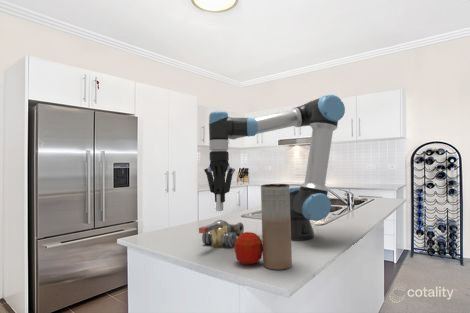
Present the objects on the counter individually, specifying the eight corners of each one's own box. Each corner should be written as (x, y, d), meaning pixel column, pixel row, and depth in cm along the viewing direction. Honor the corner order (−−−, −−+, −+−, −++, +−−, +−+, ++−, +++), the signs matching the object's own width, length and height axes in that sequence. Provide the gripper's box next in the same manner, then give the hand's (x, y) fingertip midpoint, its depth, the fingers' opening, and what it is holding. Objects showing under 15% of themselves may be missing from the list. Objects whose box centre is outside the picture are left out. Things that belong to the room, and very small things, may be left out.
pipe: (220, 250, 147) (205, 241, 136) (215, 235, 153) (200, 225, 142) (248, 234, 145) (235, 223, 134) (241, 219, 151) (229, 208, 140)
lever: (217, 225, 131) (217, 220, 131) (225, 225, 129) (225, 221, 129) (197, 232, 117) (197, 227, 117) (206, 233, 115) (206, 228, 115)
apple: (241, 270, 98) (240, 235, 98) (230, 261, 107) (229, 229, 107) (268, 265, 102) (267, 231, 102) (255, 256, 111) (254, 226, 112)
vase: (259, 268, 99) (257, 186, 99) (267, 259, 108) (264, 183, 109) (289, 271, 95) (286, 186, 96) (294, 261, 105) (291, 183, 105)
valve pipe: (237, 245, 128) (236, 226, 128) (229, 249, 121) (229, 230, 121) (210, 241, 134) (209, 224, 134) (201, 245, 128) (201, 227, 128)
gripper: (237, 150, 117) (239, 210, 116) (210, 151, 123) (211, 208, 122) (228, 150, 110) (230, 213, 110) (199, 151, 116) (201, 211, 116)
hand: (220, 210), depth 116 cm, fingers closed
